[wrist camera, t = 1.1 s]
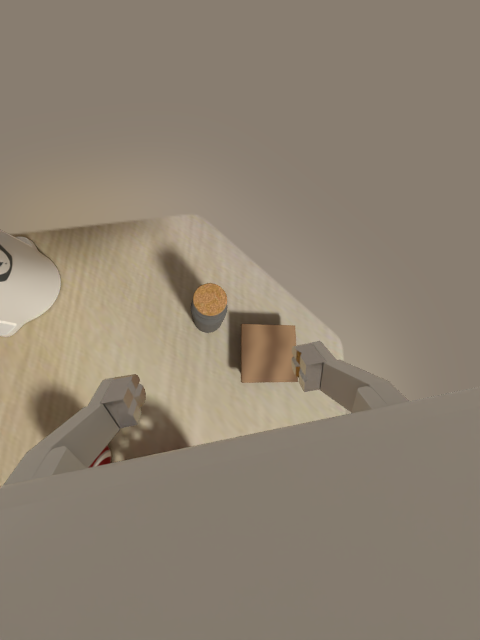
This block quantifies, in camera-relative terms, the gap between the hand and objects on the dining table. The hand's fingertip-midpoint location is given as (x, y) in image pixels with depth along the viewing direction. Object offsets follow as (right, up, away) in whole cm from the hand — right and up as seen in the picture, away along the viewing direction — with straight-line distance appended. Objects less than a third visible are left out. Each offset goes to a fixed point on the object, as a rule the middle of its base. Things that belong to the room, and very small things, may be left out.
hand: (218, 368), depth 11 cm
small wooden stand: (+6, -5, +33) cm, 34 cm away
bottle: (-6, +3, +32) cm, 33 cm away
